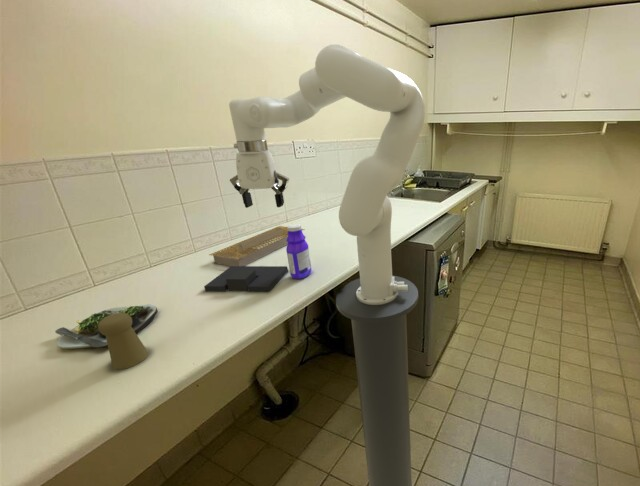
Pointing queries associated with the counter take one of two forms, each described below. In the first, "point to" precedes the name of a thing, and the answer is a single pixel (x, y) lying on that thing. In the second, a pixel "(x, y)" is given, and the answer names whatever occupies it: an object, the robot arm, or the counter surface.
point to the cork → (122, 341)
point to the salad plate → (88, 328)
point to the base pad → (262, 283)
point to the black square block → (241, 280)
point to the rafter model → (252, 253)
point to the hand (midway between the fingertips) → (264, 206)
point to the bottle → (297, 252)
